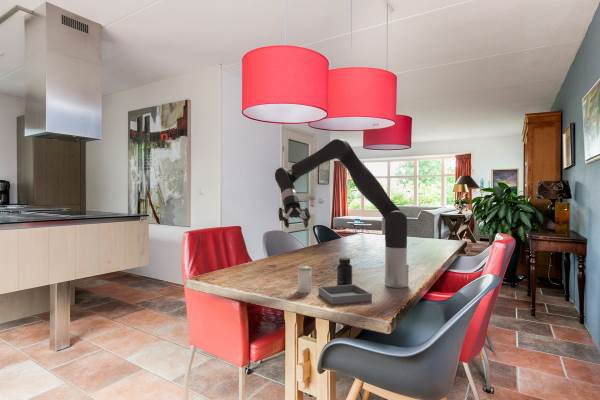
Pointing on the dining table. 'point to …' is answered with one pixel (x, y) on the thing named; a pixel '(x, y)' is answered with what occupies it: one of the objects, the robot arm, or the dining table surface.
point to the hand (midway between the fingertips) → (297, 226)
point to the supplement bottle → (344, 272)
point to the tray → (345, 294)
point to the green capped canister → (304, 279)
